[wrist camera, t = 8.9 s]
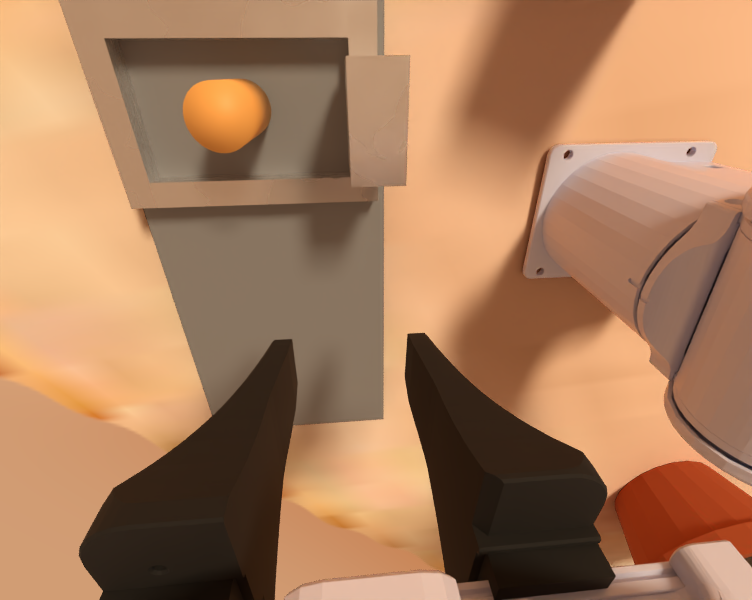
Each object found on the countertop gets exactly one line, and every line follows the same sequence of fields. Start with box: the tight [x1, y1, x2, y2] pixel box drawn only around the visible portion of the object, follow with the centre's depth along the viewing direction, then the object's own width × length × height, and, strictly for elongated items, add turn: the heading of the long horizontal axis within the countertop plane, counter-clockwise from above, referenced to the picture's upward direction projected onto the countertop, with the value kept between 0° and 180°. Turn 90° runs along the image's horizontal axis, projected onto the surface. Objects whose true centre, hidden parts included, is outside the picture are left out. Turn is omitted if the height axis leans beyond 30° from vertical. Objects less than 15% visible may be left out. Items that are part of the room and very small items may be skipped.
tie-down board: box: [120, 0, 384, 425], centre depth 22 cm, size 12×27×1 cm, turn 1°
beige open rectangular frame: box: [59, 0, 410, 209], centre depth 15 cm, size 13×8×6 cm, turn 90°
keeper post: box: [183, 79, 271, 153], centre depth 16 cm, size 2×2×4 cm
